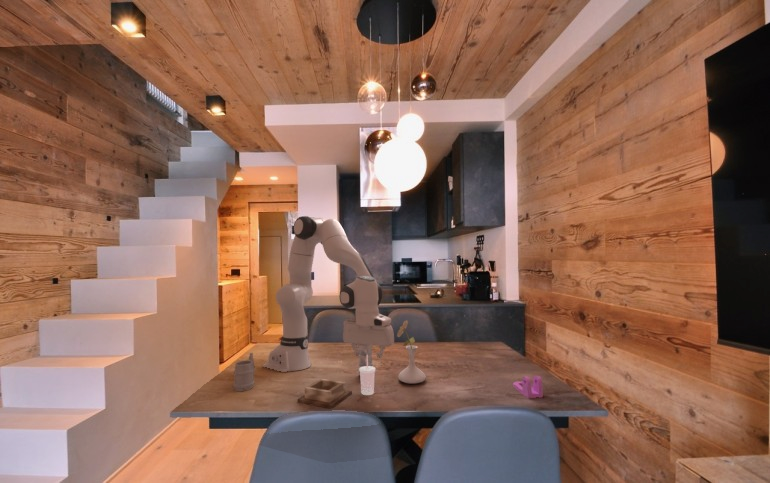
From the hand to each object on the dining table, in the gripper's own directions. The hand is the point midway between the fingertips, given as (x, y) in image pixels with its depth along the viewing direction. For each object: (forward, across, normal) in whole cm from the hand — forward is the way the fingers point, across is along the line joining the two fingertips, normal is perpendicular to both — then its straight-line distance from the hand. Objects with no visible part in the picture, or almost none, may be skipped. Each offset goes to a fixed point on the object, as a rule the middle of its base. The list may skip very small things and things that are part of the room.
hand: (368, 356), depth 132 cm
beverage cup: (+14, -1, 0) cm, 14 cm away
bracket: (+15, +54, +23) cm, 60 cm away
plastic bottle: (+14, -10, +16) cm, 23 cm away
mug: (+13, -49, -12) cm, 52 cm away
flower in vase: (+14, +10, +17) cm, 24 cm away
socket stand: (+13, -13, -10) cm, 21 cm away
